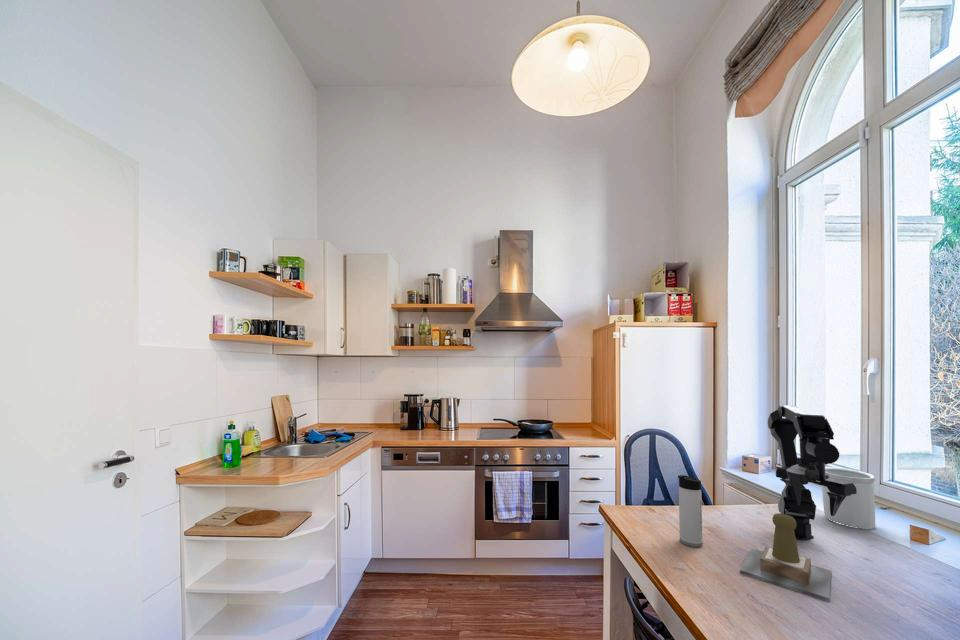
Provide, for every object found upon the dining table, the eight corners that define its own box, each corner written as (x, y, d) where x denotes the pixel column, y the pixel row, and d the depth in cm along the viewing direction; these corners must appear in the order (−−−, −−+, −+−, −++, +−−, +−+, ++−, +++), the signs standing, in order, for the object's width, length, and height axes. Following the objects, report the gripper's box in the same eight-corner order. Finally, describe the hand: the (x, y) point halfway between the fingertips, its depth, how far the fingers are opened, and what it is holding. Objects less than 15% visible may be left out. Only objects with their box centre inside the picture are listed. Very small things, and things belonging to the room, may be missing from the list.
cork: (802, 565, 105) (800, 521, 106) (773, 559, 108) (771, 516, 109) (797, 556, 110) (795, 513, 111) (770, 550, 113) (769, 509, 114)
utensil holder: (866, 533, 137) (863, 479, 139) (814, 517, 150) (811, 468, 152) (885, 526, 144) (882, 475, 145) (833, 511, 157) (831, 465, 159)
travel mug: (674, 538, 128) (673, 473, 130) (694, 538, 129) (693, 473, 131) (686, 547, 122) (684, 479, 124) (707, 547, 122) (705, 479, 124)
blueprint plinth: (740, 573, 108) (739, 557, 108) (751, 551, 121) (751, 537, 121) (829, 601, 96) (828, 583, 96) (831, 573, 109) (830, 557, 110)
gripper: (762, 450, 128) (764, 501, 126) (829, 465, 110) (833, 525, 109) (786, 448, 132) (789, 498, 130) (856, 463, 114) (859, 521, 113)
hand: (814, 510), depth 120 cm, fingers open, 9 cm apart
